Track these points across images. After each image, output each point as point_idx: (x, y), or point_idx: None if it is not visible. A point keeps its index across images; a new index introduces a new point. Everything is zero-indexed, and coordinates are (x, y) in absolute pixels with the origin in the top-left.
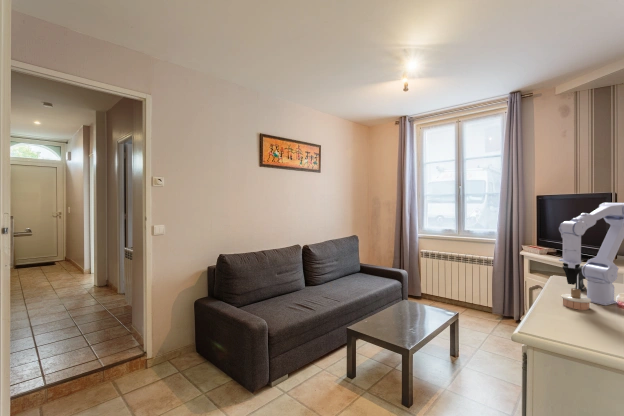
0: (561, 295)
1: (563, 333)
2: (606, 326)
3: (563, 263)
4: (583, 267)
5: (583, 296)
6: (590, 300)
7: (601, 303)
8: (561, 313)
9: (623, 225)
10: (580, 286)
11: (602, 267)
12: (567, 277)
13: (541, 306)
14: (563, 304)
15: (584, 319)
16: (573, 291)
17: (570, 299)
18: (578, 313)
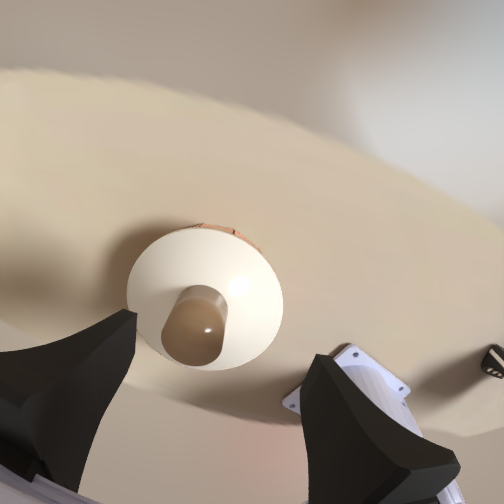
0: (211, 232)
1: None
2: (8, 302)
3: (404, 478)
4: (440, 495)
5: (252, 355)
6: (173, 361)
7: (293, 396)
8: (48, 182)
9: None
10: (494, 368)
11: None
12: (78, 338)
13: (113, 101)
14: (199, 225)
15: (27, 257)
16: (169, 315)
17: (135, 264)
18: (86, 258)
